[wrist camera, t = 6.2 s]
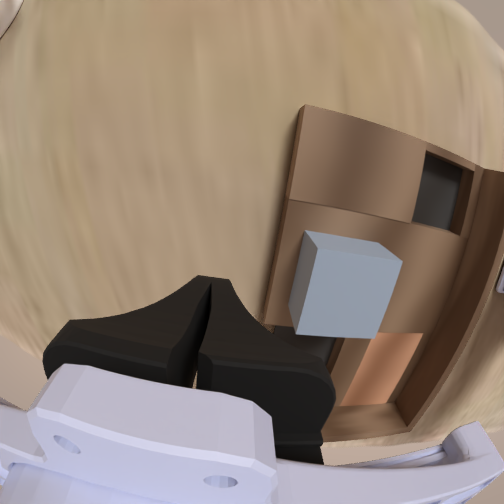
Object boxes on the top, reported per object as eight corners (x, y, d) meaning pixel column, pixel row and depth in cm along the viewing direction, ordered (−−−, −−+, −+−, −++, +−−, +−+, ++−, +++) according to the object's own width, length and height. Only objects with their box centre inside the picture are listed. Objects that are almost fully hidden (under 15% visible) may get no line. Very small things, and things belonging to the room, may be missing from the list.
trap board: (477, 169, 15) (520, 178, 11) (392, 397, 22) (409, 431, 18) (299, 108, 14) (319, 93, 10) (244, 397, 21) (245, 441, 17)
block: (378, 242, 16) (402, 261, 13) (357, 311, 17) (374, 338, 14) (304, 230, 15) (318, 248, 12) (287, 304, 17) (295, 334, 14)
